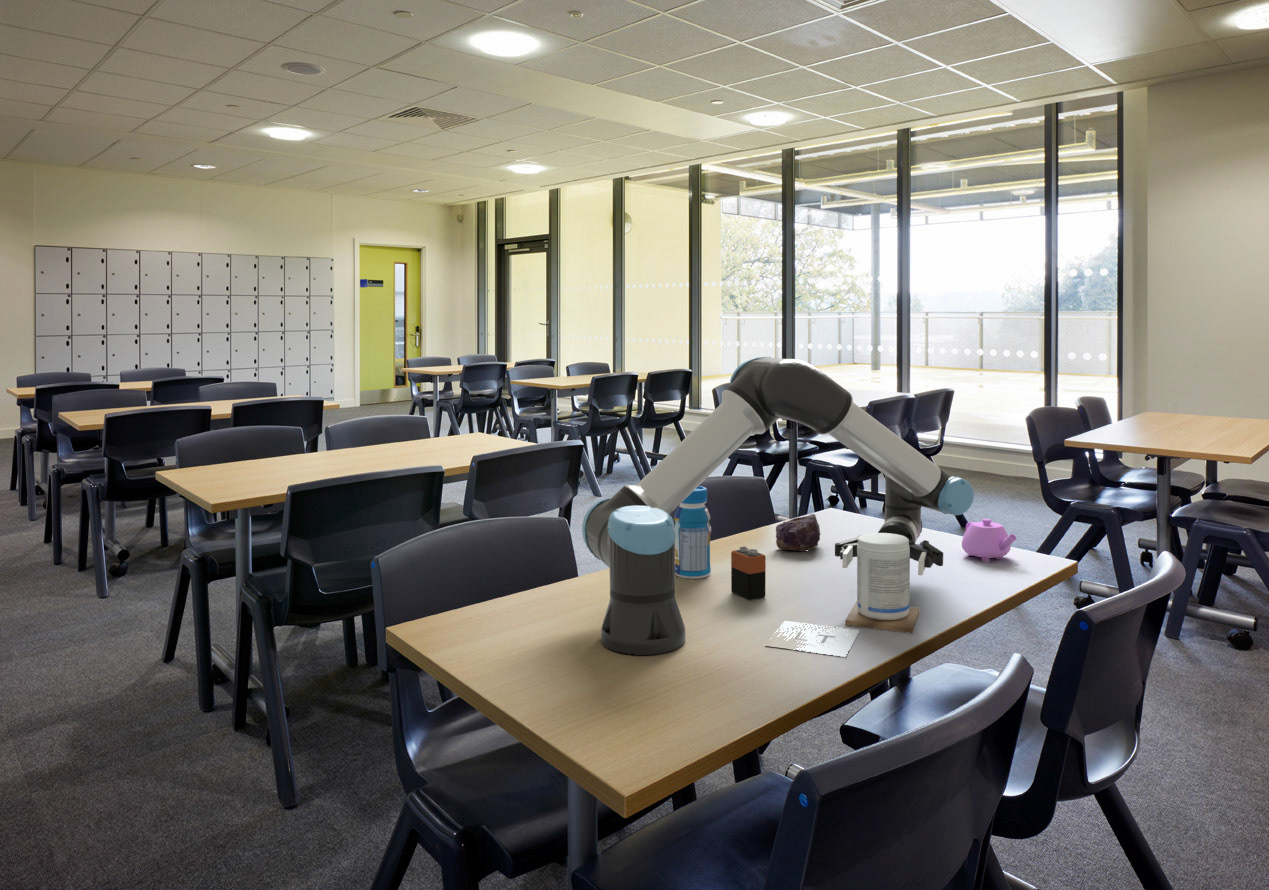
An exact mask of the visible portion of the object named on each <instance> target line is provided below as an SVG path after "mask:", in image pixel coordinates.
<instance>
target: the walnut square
mask: <svg viewBox="0 0 1269 890" xmlns="http://www.w3.org/2000/svg"><path fill="white" fill-rule="evenodd" d="M919 615H920V607H915V606H909V613H908V615H907V616H906V617H904V618H901V619H897V620H878V619H872V618H868V617H865V616H863V615H862V614H861V613H859V611H858V609H857V600H856V601H855V603H854V604H853V606H852V607H851V610H850V611H849V613H848V614H847V616H846V618H845V621H844V623H845V626H849V625H853V626H852V627H857V626H860V627H859V628H865V627H867V628H866V629H873V628H876V629H875V630H881V629H883V630H882V631H891V632H898V631H900V632H899V633H906V632H909V633H908V634H914V629H915V626H916V624H917V621H918V618H919Z"/></svg>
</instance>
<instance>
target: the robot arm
mask: <svg viewBox="0 0 1269 890" xmlns="http://www.w3.org/2000/svg"><path fill="white" fill-rule="evenodd" d="M729 381H730V383H729V385H728V386H727V387H726V388H725V389H724V390H723V391H722V392H721V403H720V404H719V405H718V406H717V407H716V408H715V409H714V410H713V411H712V412H711V413H710V414H709V415H708V416H707V417H705V418H704V420H703V421H701V422H700V423H699V424H698V425H697V426H696V427H695V428H694V429H693V430H692V431H691V432H690V433H689V434H687V436H686V437H685V438H683V440H682V441H681V442H680V443H678V445H676V446H675V447H674V448H673V450H672V451H670V452H669V453H668V454H667V455H666V456H665V457H664V458H663V459H662V460H661V461H660V462H659V463H658V464H657V465H656V466H655V467H654V468H653V469H652V470H651V471H648V473H646V475H645V476H644V477H643V478H642V479H641V480H640V481H639V482H638V483H637V484H625V485H623V487H622V488H620V489H619V490H618V491H616V493H615V494H614V495H612V497H610V498H609V497H608V498H604V499H602V500H599V501H597V502H595V503H594V504H593V505H592V506H591V507H590V508H589V509H588V510H587V511H586V513H585V515H584V518H583V521H582V524H581V525H582V526H581V529H582V530H581V533H582V534H581V535H582V539H583V542H584V543H585V546H586V548H587V549H588V551H589V552H590V554H592V555H593V556H594V557H595V559H597V560H599V561H600V562H602V563H604V564H605V565H606V566H607V567H608V569H609V602H608V605H607V608H606V610H605V611H606V612H605V613H604V619H603V622H602V625H601V629H600V641H601V644H602V646H603V647H605V646H606V647H607V648H606V647H605V648H606V649H608V648H609V649H608V650H610V649H612V650H614V651H613V652H615V651H617V652H616V653H619V652H622V653H621V654H624V653H628V654H627V655H631V654H635V655H634V656H651V655H658V654H659V655H660V654H664V653H669V652H672V651H674V650H677V649H680V647H682V646H683V645H684V644H685V643H686V626H685V623H684V620H683V617H682V615H681V611H680V608H679V605H678V602H677V599H676V574H675V537H676V534H675V530H674V526H675V522H674V518H673V517H672V516H671V514H672V512H673V511H674V510H675V509H677V508H678V507H679V506H680V503H681V502H683V501H684V500H685V499H686V498H687V497H688V496H689V495H690V494H691V493H692V492H693V491H694V490H695V489H696V488H697V487H698V486H700V485H701V484H702V483H703V482H704V481H705V480H706V479H708V477H709V476H710V475H712V474H713V473H714V472H715V470H717V468H719V467H720V466H721V465H722V464H723V463H724V462H725V461H726V460H727V459H728V458H729V457H730V456H731V455H732V454H733V453H734V452H735V451H736V450H737V449H739V447H740V446H741V445H742V444H743V443H744V442H745V441H746V440H747V439H748V438H749V437H750V436H752V435H763V434H764V433H765V432H767V431H768V430H769V429H770V428H771V426H773V425H774V424H775V423H776V422H777V421H778V420H779V419H781V420H789V421H792V422H796V423H797V424H798V423H799V424H802V425H804V426H805V427H808V428H810V429H812V430H813V431H814V432H816V433H818V434H819V435H822V436H823V435H829V436H831V437H832V438H834V439H835V440H836V441H838V442H839V443H840V444H842V445H843V446H845V447H846V448H847V449H849V450H850V451H851V452H853V453H854V454H856V455H857V456H859V457H860V458H861V459H863V460H864V461H865V462H867V463H868V464H870V465H871V466H872V467H874V468H875V469H877V470H878V471H879V472H881V473H882V474H883V475H884V477H885V478H884V479H885V484H884V485H885V486H884V487H885V488H884V489H885V503H884V504H885V505H884V523H883V524H882V525H881V527H880V529H878V531H877V533H891V534H898V535H902V536H905V537H907V538H908V539H909V549H910V560H914V561H916V562H918V564H917V567H918V568H917V576H923V575H924V573H925V569H926V568H927V569H930V568H932V566H933V565H935V566H938V567H942V566H944V552H943V551H941V550H940V549H938V548H937V547H935V546H933V545H932V544H930V541H929V540H922V541H920V542H919V543H916V542H917V540H918V539H919V537H920V536H921V533H922V531H923V521H922V520H923V519H922V507H923V508H926V509H929V510H933V511H935V512H939V513H942V514H944V515H951V516H960V515H963V514H965V513H966V512H967V511H969V509H971V507H972V504H973V503H974V499H975V498H974V497H975V491H974V488H973V486H972V484H971V483H970V482H969V481H968V480H966V479H964V478H961V477H959V476H956V475H955V476H953V475H952V474H949V473H948V472H947V471H945V470H944V469H942V467H940V466H938V464H935V462H933V461H931V460H930V459H929V458H927V456H925V455H924V454H922V453H921V452H920V451H918V450H917V449H916V448H914V447H913V446H912V445H910V444H909V443H908V442H906V441H905V440H904V439H902V438H901V437H900V436H898V435H897V434H896V433H894V432H893V431H892V430H890V429H889V428H888V427H886V426H885V425H884V424H882V423H881V422H880V421H878V420H877V419H876V418H874V416H872V415H870V414H869V413H868V412H867V411H866V410H864V409H863V408H861V407H860V406H858V405H857V404H856V403H855V402H854V401H853V395H852V394H851V392H849V391H848V390H847V389H845V388H844V387H843V386H841V385H840V384H839V383H838V382H837V381H835V380H833V379H832V378H831V377H829V376H828V375H827V374H825V373H824V372H822V370H819V369H818V368H817V367H815V366H814V365H812V364H810V363H808V362H806V361H804V360H802V359H798V358H797V359H796V358H781V357H780V358H777V357H771V356H758V357H755V358H750V359H747V360H746V361H743V362H742V363H741V364H740V365H738V366H737V368H735V370H734V372H733V373H732V375H731V377H730V380H729ZM861 535H862V534H860V535H857V536H856V537H854V538H850V539H847V540H846V539H845V540H843V541H838V542H834V556H835V557H839V558H840V560H842V569H847V568H848V567H849V565H850V564H851V562H852V561H853V559H854V558H857V544H858V537H859V536H861ZM612 650H611V651H612Z"/></svg>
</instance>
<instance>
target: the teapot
mask: <svg viewBox="0 0 1269 890" xmlns="http://www.w3.org/2000/svg"><path fill="white" fill-rule="evenodd" d="M1016 540H1017V536H1016V535H1014V533H1010V534H1008V533H1007V531H1006V529H1005V527H1004V525H1002V524H1000V523H998V522H993V519H991V518H982V519H981V521H976V522H975V521H969V522H967V523H966V525H965V532H964V534H963V537H962V540H961V548H962V549H963V551H964V553H966V554H967V555H968V556H975V557H977V558H978V557H979V558H981V559H980V560H982V562H984V561H989V562H990V560H991V559H993V558H995V559H996V558H998V559H997V560H1004V559H1005V556H1007V554H1008V553H1010V550H1011V546H1012V544H1013V543H1014V542H1015V541H1016ZM968 556H967V557H968Z"/></svg>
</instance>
